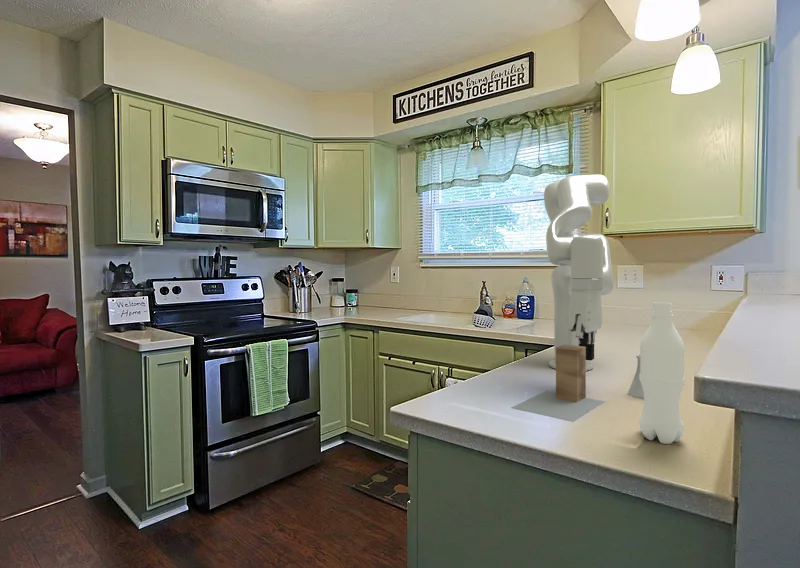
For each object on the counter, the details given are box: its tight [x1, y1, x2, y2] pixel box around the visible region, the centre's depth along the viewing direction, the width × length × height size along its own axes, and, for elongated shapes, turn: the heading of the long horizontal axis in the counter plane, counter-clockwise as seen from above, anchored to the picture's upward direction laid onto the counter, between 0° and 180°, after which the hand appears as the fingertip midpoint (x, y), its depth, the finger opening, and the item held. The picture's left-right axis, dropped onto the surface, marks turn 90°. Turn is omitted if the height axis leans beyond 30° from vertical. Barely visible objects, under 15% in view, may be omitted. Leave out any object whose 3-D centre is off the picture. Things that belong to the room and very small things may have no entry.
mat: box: [510, 390, 606, 423], centre depth 104 cm, size 18×14×1 cm
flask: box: [627, 354, 644, 400], centre depth 111 cm, size 7×7×10 cm
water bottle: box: [638, 301, 686, 445], centre depth 84 cm, size 7×7×25 cm
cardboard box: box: [555, 345, 587, 402], centre depth 109 cm, size 5×5×12 cm
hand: (586, 359), depth 116 cm, fingers closed
